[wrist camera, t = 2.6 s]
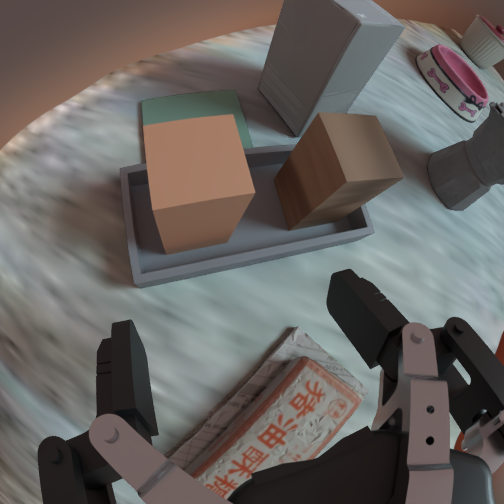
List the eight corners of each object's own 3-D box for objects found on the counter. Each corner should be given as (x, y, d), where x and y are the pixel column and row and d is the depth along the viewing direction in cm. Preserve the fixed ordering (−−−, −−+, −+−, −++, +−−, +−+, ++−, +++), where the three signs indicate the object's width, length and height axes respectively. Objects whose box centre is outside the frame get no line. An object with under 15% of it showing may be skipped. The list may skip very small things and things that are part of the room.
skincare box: (337, 126, 30) (415, 32, 15) (289, 142, 28) (365, 23, 13) (297, 77, 30) (350, -21, 15) (248, 86, 28) (291, -31, 13)
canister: (448, 39, 55) (481, 6, 35) (457, 37, 61) (485, 8, 41) (485, 80, 55) (521, 50, 35) (489, 72, 60) (519, 46, 40)
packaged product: (250, 541, 14) (152, 492, 14) (240, 513, 19) (156, 464, 19) (392, 396, 20) (317, 325, 20) (362, 386, 24) (293, 324, 24)
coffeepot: (416, 188, 31) (524, 119, 14) (414, 135, 33) (498, 66, 16) (480, 234, 33) (571, 197, 16) (476, 184, 35) (553, 141, 18)
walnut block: (288, 231, 25) (347, 181, 15) (273, 179, 26) (318, 112, 16) (336, 222, 26) (404, 177, 17) (320, 174, 27) (375, 116, 17)
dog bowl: (434, 103, 38) (456, 83, 32) (403, 44, 42) (419, 25, 36) (484, 134, 42) (504, 120, 35) (455, 76, 46) (471, 62, 40)
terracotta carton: (166, 255, 22) (152, 210, 13) (156, 197, 23) (143, 125, 13) (227, 242, 23) (255, 192, 14) (214, 187, 24) (233, 114, 15)
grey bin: (140, 288, 22) (134, 284, 19) (126, 184, 23) (119, 168, 20) (357, 240, 27) (374, 232, 24) (328, 157, 28) (341, 143, 25)
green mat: (147, 166, 24) (146, 163, 23) (141, 103, 25) (141, 100, 25) (252, 151, 26) (253, 148, 26) (234, 92, 28) (235, 89, 27)
